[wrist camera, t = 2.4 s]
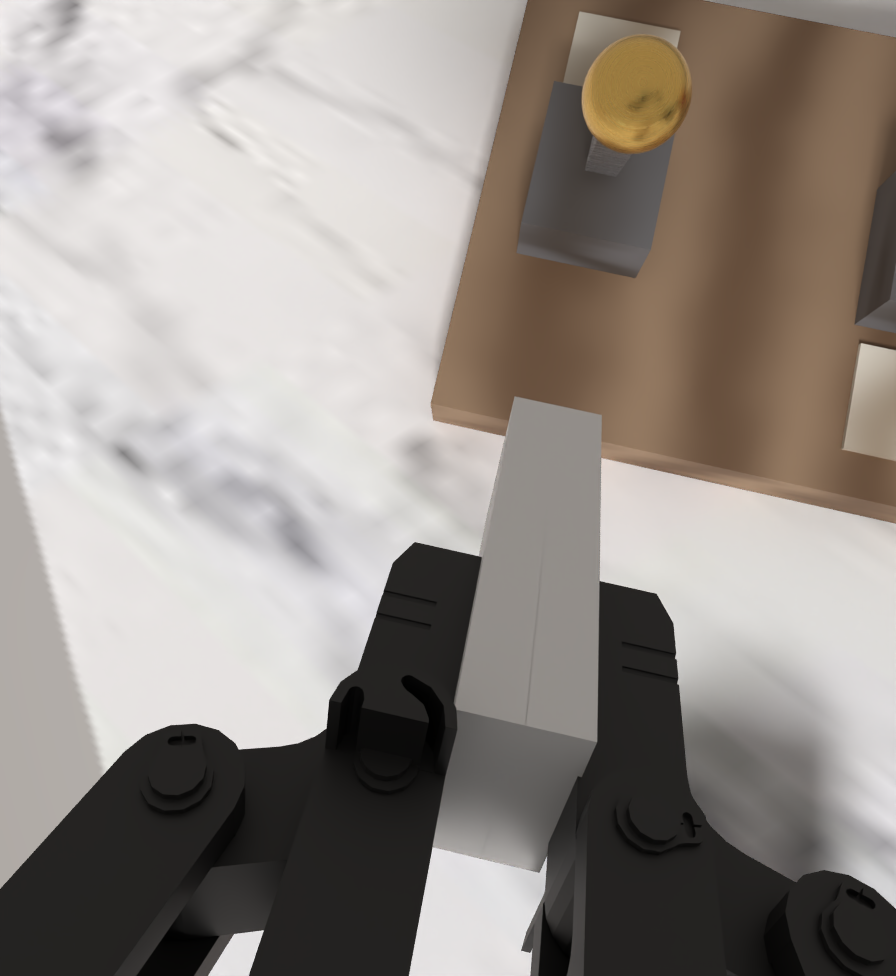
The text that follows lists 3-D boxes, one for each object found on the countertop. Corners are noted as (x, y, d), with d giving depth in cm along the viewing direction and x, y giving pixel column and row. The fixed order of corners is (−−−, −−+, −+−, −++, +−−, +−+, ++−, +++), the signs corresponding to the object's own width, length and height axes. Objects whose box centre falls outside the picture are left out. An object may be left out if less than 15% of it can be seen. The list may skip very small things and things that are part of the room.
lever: (651, 124, 29) (716, 29, 19) (631, 203, 30) (684, 153, 20) (576, 109, 29) (601, 7, 19) (558, 188, 30) (572, 131, 20)
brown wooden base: (1019, 114, 36) (1121, 25, 31) (958, 537, 34) (1057, 524, 28) (529, 18, 38) (541, -85, 32) (433, 420, 35) (427, 385, 29)
